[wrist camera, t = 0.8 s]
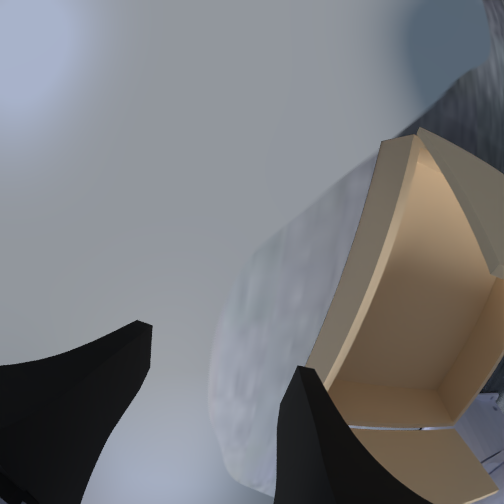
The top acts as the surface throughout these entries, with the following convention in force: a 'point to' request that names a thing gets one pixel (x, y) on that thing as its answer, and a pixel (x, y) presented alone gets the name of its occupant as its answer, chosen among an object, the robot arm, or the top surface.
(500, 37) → the top surface
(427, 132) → the near flap
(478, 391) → the carton
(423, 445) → the far flap
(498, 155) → the top surface
